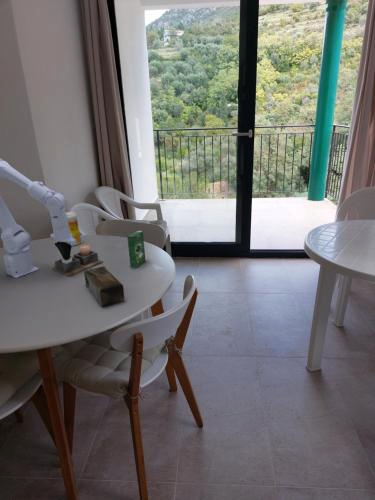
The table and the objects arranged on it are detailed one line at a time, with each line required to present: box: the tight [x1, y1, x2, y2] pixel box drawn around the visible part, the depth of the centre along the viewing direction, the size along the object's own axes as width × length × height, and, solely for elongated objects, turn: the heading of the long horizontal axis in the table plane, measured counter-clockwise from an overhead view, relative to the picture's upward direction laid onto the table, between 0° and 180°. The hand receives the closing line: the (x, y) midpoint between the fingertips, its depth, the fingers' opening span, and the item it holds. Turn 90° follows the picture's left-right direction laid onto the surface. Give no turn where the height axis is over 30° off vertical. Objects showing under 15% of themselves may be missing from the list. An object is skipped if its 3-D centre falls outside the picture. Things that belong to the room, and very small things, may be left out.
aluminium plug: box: [61, 256, 73, 264], centre depth 133 cm, size 4×4×4 cm
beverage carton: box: [83, 265, 125, 307], centre depth 114 cm, size 8×19×7 cm, turn 31°
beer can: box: [66, 211, 82, 247], centre depth 160 cm, size 6×6×15 cm
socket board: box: [51, 249, 104, 278], centre depth 137 cm, size 16×12×4 cm
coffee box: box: [126, 230, 146, 269], centre depth 134 cm, size 8×3×13 cm, turn 158°
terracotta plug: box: [78, 244, 91, 257], centre depth 138 cm, size 4×4×4 cm
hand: (66, 259), depth 133 cm, fingers closed, pressing on aluminium plug
